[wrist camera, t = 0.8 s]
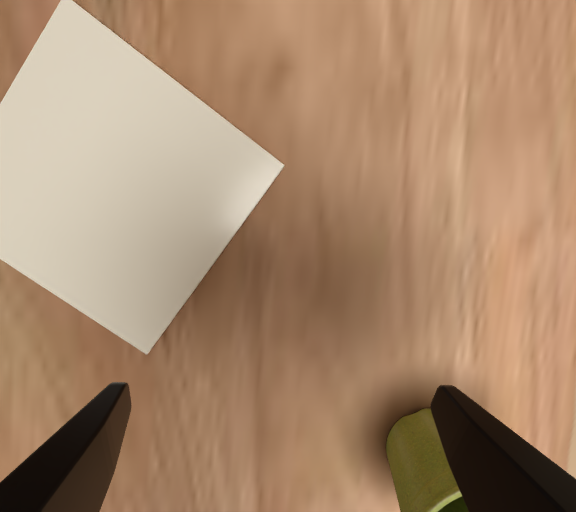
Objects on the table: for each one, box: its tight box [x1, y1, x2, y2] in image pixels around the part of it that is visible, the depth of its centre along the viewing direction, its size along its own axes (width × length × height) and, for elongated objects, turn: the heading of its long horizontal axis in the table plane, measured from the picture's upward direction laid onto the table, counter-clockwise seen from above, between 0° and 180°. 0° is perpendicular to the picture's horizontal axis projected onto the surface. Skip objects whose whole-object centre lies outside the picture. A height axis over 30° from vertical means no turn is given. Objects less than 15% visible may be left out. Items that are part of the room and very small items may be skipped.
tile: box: [0, 0, 285, 354], centre depth 22 cm, size 16×16×1 cm
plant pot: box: [386, 409, 469, 512], centre depth 22 cm, size 9×9×9 cm
